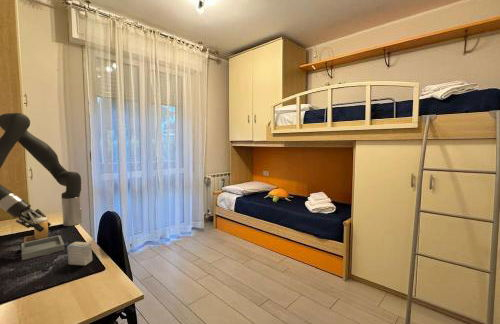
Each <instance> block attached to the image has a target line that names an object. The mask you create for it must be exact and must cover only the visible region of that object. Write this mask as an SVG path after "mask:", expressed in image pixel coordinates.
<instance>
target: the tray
mask: <svg viewBox="0 0 500 324" xmlns="http://www.w3.org/2000/svg"><path fill="white" fill-rule="evenodd" d="M34 240H35V241H34ZM34 240H29V241H30V242H29V241H26V242H25V243H24V242H21V246H20V247H21V260H22V261H24V260H25V261H26V260H29V259H33V258H37V257H41V256H46V255H49V254H53V253H56V252H62V251H65V244H64V241H63V240H64V239H62V236H61V235H59V234H58V235H53V236H48V238H44V239H43V238H41V239H40V240H38V239H34Z"/></svg>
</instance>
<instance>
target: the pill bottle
mask: <svg viewBox="0 0 500 324" xmlns="http://www.w3.org/2000/svg"><path fill="white" fill-rule="evenodd" d="M35 221H36V222H37V224H39V225H41V226H42V227H44V230H43V231H41V232H39V231H38V230H36V229H35V228H33V231H34V235H35V239H34V240H38V239H43V238H45V237H48V238H49V227H48V222H49V221H48V217H47V216H46V217H40V218H37V217H36V219H35Z"/></svg>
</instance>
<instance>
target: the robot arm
mask: <svg viewBox="0 0 500 324" xmlns="http://www.w3.org/2000/svg"><path fill="white" fill-rule="evenodd" d="M30 126H31V120H30V118H29V117H28V116H27V115H26V114H24V113H21V112H20V113H19V112H10V113H3V114H0V128H1V130H3V131H4V133H3V134H2V136H0V169H1V168H2V166H3V165H4V163H5V161H6V160H7V158H8V156H9V154H10V152H11V151H12V150H13V148H14V147H15V145H16V144H17V143H19V144H20V146H22V147H23V148H24V149H25V150H26V152H28V153H29V154H30V155H31V156H32V157H33V158H34V159H35V160H36V161H37V162H38V163H39V164H40V165H42V167H44V169H45V170H46V171H48V172H49V173H50V175H51V176H52V177H53V178H54V180H55V181H56V182H57V183H58V184H59V185H60V186H63V187H65V191H64V192H62V193H61V194H60V195H61V207H62V208H61V211H62V212H61V213H62V225H63V226H65V227H71V226H78V225H79V224H82V223H83V218H82V215H83V214H82V208H81V191H82V177H81V175H80V173H79V172H76V171H69V170H67V169H65V168H64V167H63V166H62V164H60V161H59V156H58V155H57V153H56V152H55V151H54V149H53V148H52V147H51V146H50V145H49V144H48V143H46V142H45V141H44V140H42V139H40V138H38V137H36V136H34V134H32V133H31V132H30V131H28V129H29V127H30ZM0 209H2V210H3V211H5V213H7V214H9V215H10V216H12V217H13V218H17V219H16V220H15V222H16V223H17V224H18V225H21V226H23V227H25V228H27V229H29V228H33V229H34V228H35V229H36V230H38V231H39V232H41V231H43V230H44V227H42V226H41V225H39V224H37V222H36V221H35V219H36V218H40V217H47V216H46V215H45V214H44V213H43V212H42V211H41V210H40V209H38V208H37V209H35V210H34V209H32V208H31V204H30V203H29V202H27V201H25V199H23V198H22V197H20V196H19V195H17V194H15V193H14V192H12V191H11V190H10V189H8V188H7V187H5V186H4V185H2V184H0ZM51 225H52V224H51V223H50V222H49V221H48V228H50V227H51Z"/></svg>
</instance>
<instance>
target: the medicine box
mask: <svg viewBox="0 0 500 324" xmlns="http://www.w3.org/2000/svg"><path fill="white" fill-rule="evenodd" d="M66 248H67V261H68V265H72V266H73V265H74V266H86V265H89V264H90V263H91V262H92V261H93V250H92V242H87V241H86V242H85V241H74V242H72V243H70V244H68V245H67V247H66Z"/></svg>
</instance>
